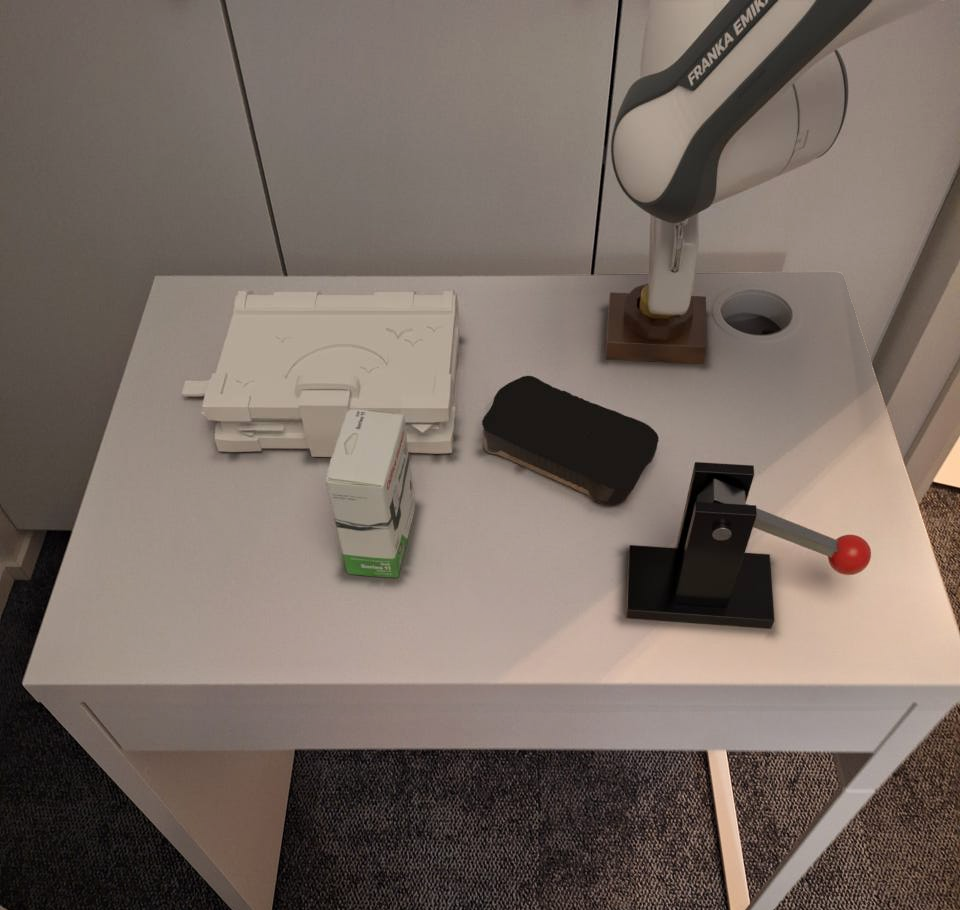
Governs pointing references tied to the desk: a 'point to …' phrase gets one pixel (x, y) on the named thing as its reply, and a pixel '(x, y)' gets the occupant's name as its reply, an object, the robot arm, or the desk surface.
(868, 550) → the lever
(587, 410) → the black sponge
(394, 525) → the ink box
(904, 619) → the desk surface
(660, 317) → the button
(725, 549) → the bracket
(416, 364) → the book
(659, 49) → the robot arm
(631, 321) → the button block
